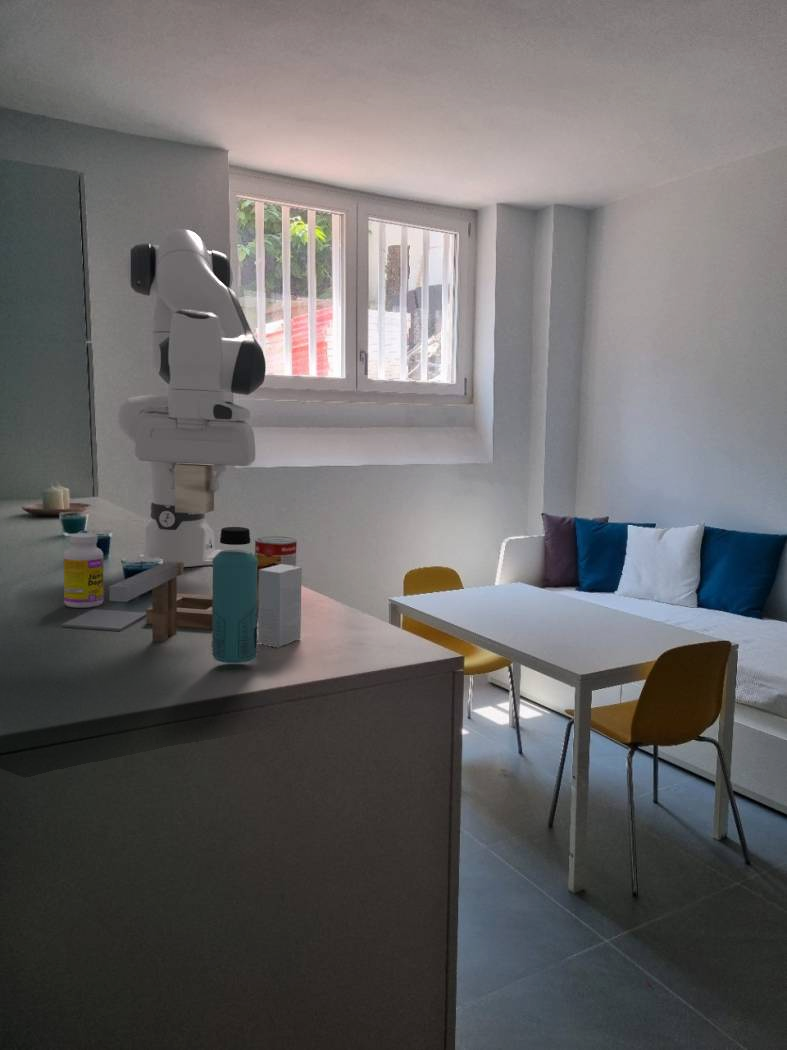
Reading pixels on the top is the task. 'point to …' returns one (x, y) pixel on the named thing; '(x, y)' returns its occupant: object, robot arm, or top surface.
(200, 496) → the birch block
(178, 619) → the holder
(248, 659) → the beverage bottle
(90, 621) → the mat
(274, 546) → the canned food
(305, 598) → the top surface
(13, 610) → the top surface
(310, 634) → the top surface
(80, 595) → the supplement bottle
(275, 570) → the skincare box
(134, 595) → the grey sliding bar
